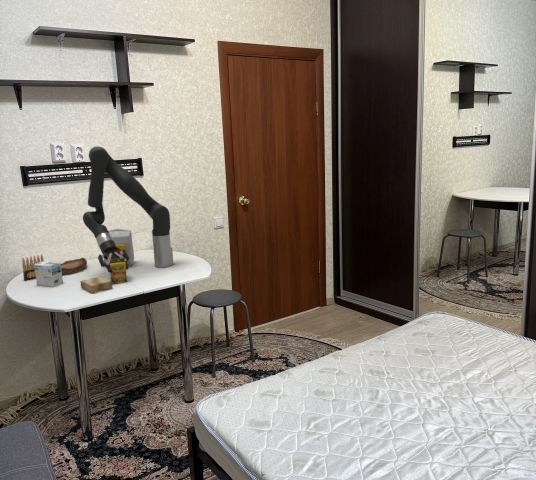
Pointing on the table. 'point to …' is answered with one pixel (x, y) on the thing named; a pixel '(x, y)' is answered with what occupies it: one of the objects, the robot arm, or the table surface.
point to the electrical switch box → (123, 243)
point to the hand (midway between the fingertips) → (119, 270)
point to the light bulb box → (48, 273)
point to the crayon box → (118, 270)
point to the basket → (73, 266)
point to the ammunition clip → (29, 271)
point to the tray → (96, 284)
